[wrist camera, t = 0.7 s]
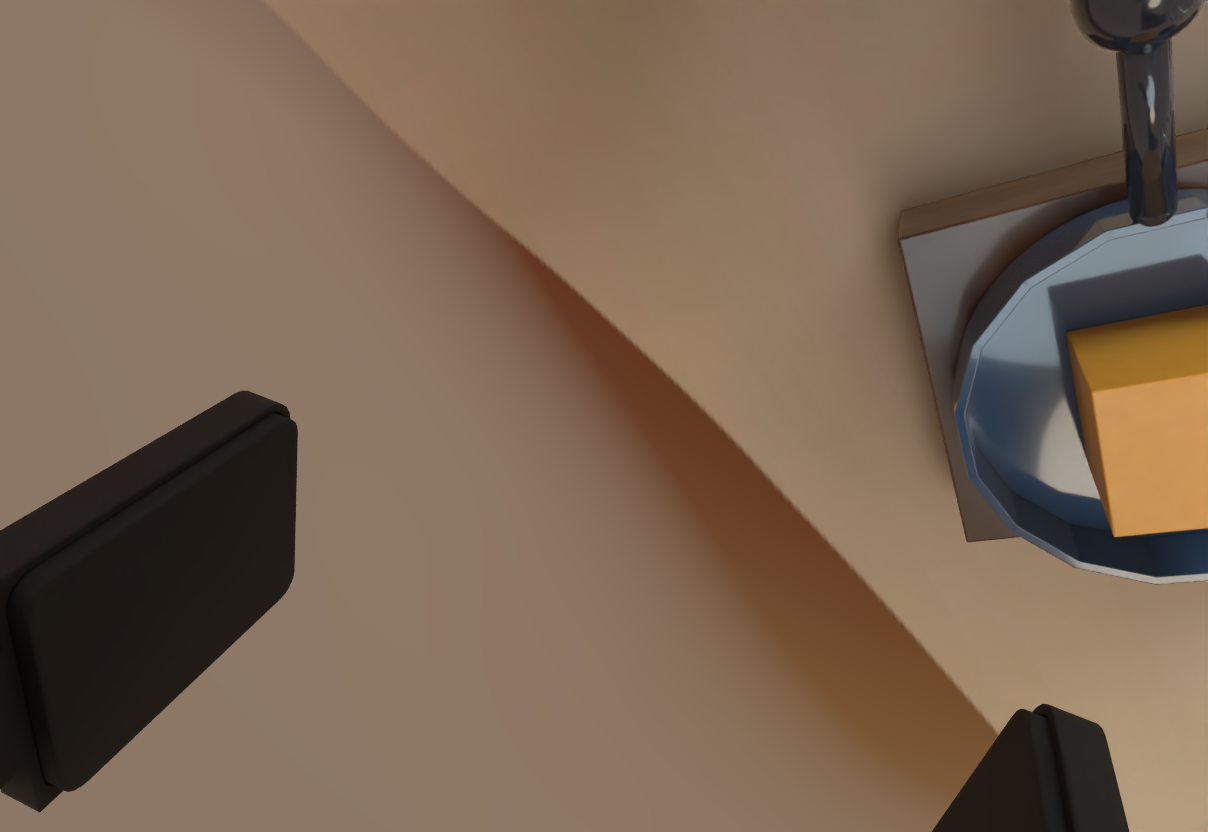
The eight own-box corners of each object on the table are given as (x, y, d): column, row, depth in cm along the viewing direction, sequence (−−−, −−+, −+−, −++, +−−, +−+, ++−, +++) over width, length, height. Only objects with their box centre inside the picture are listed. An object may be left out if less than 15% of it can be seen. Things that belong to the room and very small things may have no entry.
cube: (1246, 296, 24) (1309, 355, 20) (1258, 437, 25) (1319, 518, 21) (1065, 331, 26) (1090, 392, 22) (1086, 460, 27) (1113, 538, 23)
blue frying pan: (1385, -178, 19) (1531, -231, 15) (1400, 509, 25) (1507, 626, 21) (872, 14, 24) (859, 20, 20) (988, 549, 30) (1000, 650, 26)
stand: (1356, 87, 25) (1425, 102, 21) (1369, 436, 28) (1428, 497, 25) (900, 211, 30) (897, 238, 27) (962, 488, 34) (966, 543, 31)
